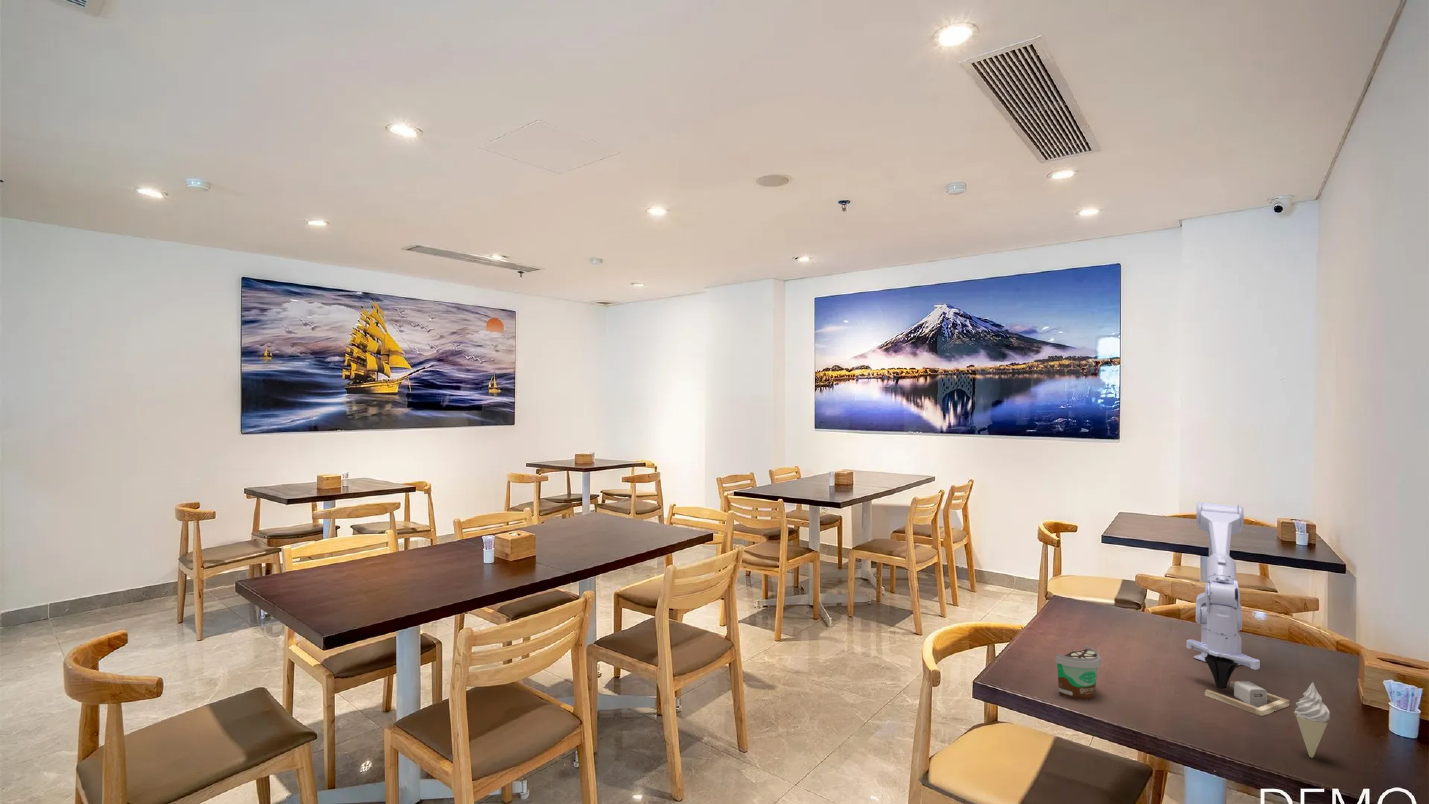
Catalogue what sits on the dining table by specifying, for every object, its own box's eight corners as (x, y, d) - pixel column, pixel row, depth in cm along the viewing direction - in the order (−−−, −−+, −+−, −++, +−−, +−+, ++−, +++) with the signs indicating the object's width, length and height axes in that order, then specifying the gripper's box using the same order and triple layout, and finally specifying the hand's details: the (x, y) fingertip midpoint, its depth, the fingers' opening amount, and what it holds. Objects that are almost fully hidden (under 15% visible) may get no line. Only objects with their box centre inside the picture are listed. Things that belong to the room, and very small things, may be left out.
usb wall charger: (1249, 706, 145) (1249, 689, 145) (1225, 692, 151) (1225, 676, 152) (1266, 706, 145) (1266, 689, 145) (1241, 693, 151) (1241, 676, 151)
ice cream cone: (1332, 767, 120) (1333, 689, 120) (1297, 759, 123) (1297, 682, 123) (1324, 755, 124) (1325, 679, 124) (1290, 747, 127) (1291, 673, 127)
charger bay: (1232, 686, 155) (1232, 681, 155) (1289, 705, 145) (1289, 700, 145) (1204, 695, 150) (1204, 690, 150) (1261, 716, 140) (1261, 711, 140)
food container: (1080, 706, 143) (1080, 663, 143) (1055, 695, 149) (1055, 653, 149) (1112, 695, 149) (1112, 654, 149) (1086, 685, 154) (1086, 645, 155)
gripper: (1179, 624, 157) (1179, 678, 157) (1248, 644, 144) (1248, 703, 144) (1195, 620, 160) (1195, 673, 160) (1264, 640, 147) (1264, 697, 147)
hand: (1221, 687), depth 152 cm, fingers closed
